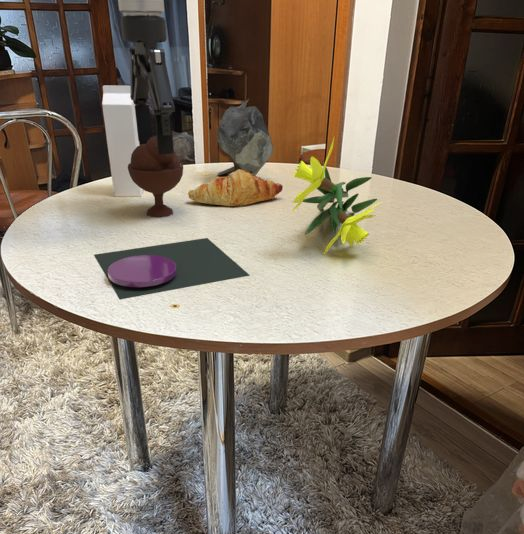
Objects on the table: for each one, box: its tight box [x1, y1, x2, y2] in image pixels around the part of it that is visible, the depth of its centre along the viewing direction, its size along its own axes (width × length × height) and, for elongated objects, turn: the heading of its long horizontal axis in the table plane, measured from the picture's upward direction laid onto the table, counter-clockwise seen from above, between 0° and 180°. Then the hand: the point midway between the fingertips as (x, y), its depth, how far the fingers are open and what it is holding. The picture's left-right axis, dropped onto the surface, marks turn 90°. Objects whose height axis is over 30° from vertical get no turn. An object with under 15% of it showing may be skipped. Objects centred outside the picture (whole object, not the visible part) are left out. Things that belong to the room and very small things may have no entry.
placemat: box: [93, 237, 251, 300], centre depth 81 cm, size 18×20×1 cm
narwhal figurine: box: [216, 98, 275, 177], centre depth 124 cm, size 14×15×18 cm
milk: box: [101, 84, 144, 198], centre depth 111 cm, size 6×6×22 cm
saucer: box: [108, 255, 177, 287], centre depth 76 cm, size 10×10×2 cm
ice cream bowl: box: [128, 135, 184, 218], centre depth 101 cm, size 11×11×15 cm
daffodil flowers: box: [289, 137, 381, 257], centre depth 91 cm, size 17×15×35 cm
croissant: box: [187, 169, 283, 207], centre depth 112 cm, size 21×10×8 cm, turn 106°
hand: (155, 147), depth 98 cm, fingers open, 13 cm apart
